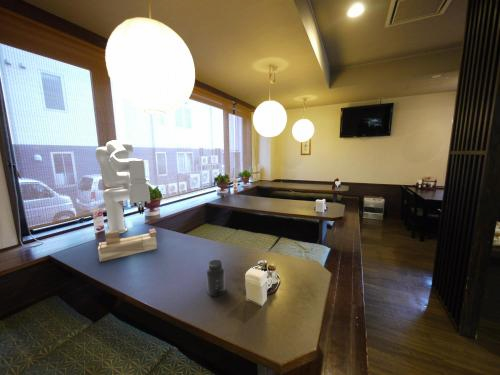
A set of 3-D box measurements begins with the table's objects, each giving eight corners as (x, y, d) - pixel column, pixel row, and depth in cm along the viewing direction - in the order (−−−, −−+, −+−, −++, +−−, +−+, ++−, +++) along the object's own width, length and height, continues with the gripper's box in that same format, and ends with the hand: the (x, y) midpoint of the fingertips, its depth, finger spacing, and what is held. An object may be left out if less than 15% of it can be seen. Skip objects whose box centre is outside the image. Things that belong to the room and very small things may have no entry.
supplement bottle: (204, 291, 80) (202, 262, 78) (218, 283, 84) (217, 256, 82) (214, 299, 75) (212, 269, 73) (228, 291, 79) (227, 262, 78)
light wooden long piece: (101, 255, 111) (99, 242, 110) (154, 243, 125) (153, 232, 124) (99, 261, 104) (97, 248, 103) (157, 248, 118) (155, 236, 117)
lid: (102, 244, 111) (100, 231, 110) (141, 236, 121) (139, 225, 120) (100, 250, 104) (99, 236, 102) (142, 241, 113) (141, 229, 112)
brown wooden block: (149, 233, 122) (148, 229, 122) (154, 232, 124) (154, 228, 123) (150, 237, 116) (150, 233, 116) (156, 236, 118) (156, 232, 117)
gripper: (152, 180, 120) (155, 210, 122) (122, 182, 112) (126, 214, 115) (153, 181, 113) (156, 213, 116) (122, 183, 106) (126, 217, 109)
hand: (141, 213), depth 115 cm, fingers closed
